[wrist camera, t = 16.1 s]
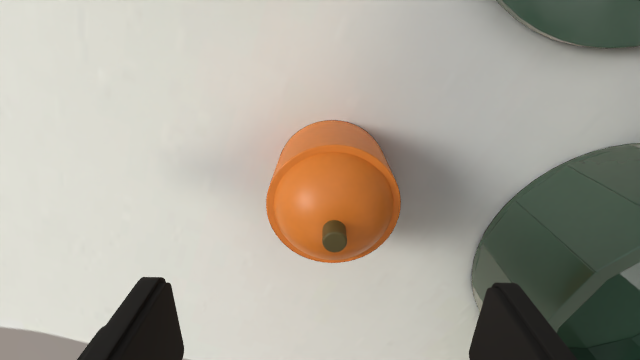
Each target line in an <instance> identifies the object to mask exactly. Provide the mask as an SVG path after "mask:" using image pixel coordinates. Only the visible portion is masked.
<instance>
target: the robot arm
mask: <svg viewBox="0 0 640 360" xmlns="http://www.w3.org/2000/svg"><path fill="white" fill-rule="evenodd" d="M183 354H184V345H183V340H182V335H181V330H180V326H179V321H178V316H177V311H176V307H175V302H174V297H173V292H172V287H171V284H170V283H166V281H165V279H164V278H161V277H143V278H141V279H140V280H139V281H138V282H137V283H136V285H135V286H134V288H133V289H132V290H131V292H130V293H129V294H128V296H127V297H126V298H125V300H124V301H123V303H122V304H121V305H120V307H119V308H118V309H117V311H116V312H115V313H114V315H113V316H112V318H111V319H110V320H109V322H108V323H107V324H106V325H105V326H104V327H102V328H101V329H100V330H99V331H98V332H97V333H96V335H95V336H94V338H93V339H92V340H91V342H90V343H89V344H88V346H87V347H86V348H85V350H84V351H83V353H82V354H81V355H80V357H79V358H78V359H77V360H182V358H183ZM469 358H470V360H577V358H576V357H575V356H574V355H573V353H572V352H571V351H570V349H569V348H568V347H567V346H566V344H565V343H564V342H563V341H562V339H561V338H560V337H559V335H558V334H557V333H556V332H555V330H554V329H553V328H552V327H551V325H550V324H549V323H548V321H547V320H546V319H545V318H544V316H543V315H542V314H541V313H540V311H539V310H538V309H537V307H536V306H535V305H534V304H533V302H532V301H531V300H530V299H529V297H528V296H527V295H526V293H525V292H524V291H523V290H522V288H521V287H520V286H519V285H518V284H516V283H499V282H497V283H494V284H493V285H492V287H490V288H488V289H487V290H486V293H485V297H484V300H483V304H482V308H481V311H480V315H479V318H478V322H477V325H476V329H475V332H474V336H473V339H472V343H471V346H470V350H469Z"/></svg>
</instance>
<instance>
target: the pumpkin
mask: <svg viewBox="0 0 640 360" xmlns="http://www.w3.org/2000/svg"><path fill="white" fill-rule="evenodd" d="M400 205H401V200H400V192H399V188H398V185H397V183H396V180H395V178H394V176H393V174H392V172H391V170H390V167H389V165H388V163H387V161H386V159H385V157H384V155H383V153H382V150H381V148H380V147H379V145H378V143H377V142H376V141H375V140H374V138H373V137H372V136H371V135H370V134H369V133H367V132H366V131H365V130H363V129H362V128H360V127H358V126H356V125H354V124H351V123H348V122H343V121H336V120H329V121H321V122H317V123H313V124H311V125H308V126H306V127H304V128H303V129H301V130H300V131H298V132H297V133H296V134H295V135H293V136H292V137H291V139H290V140H289V141H288V142H287V144H286V145H285V146H284V148H283V150H282V152H281V155H280V158H279V161H278V164H277V166H276V169H275V172H274V175H273V177H272V180H271V183H270V186H269V189H268V193H267V199H266V208H267V215H268V219H269V222H270V224H271V226H272V229H273V230H274V232H275V234H276V235H277V236H278V238H279V239H280V240H281V241H282V242H283V243H284V244H285V245H286V246H287V247H288V248H290V249H291V250H292V251H294V252H295V253H297V254H299V255H301V256H303V257H306V258H308V259H311V260H315V261H320V262H328V263H339V262H346V261H351V260H355V259H358V258H360V257H363V256H365V255H367V254H369V253H371V252H372V251H374V250H375V249H377V248H378V247H379V246H380V245H381V244H383V243H384V241H385V240H386V239H387V238H388V237H389V235H390V234H391V233H392V231H393V229H394V227H395V226H396V223H397V220H398V218H399V213H400Z"/></svg>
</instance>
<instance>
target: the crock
mask: <svg viewBox="0 0 640 360" xmlns="http://www.w3.org/2000/svg"><path fill="white" fill-rule="evenodd" d="M497 282H499V283H516V284H518V285H519V286H520V287H521V288H522V290H523V291H524V292H525V293H526V295H527V296H528V297H529V299H530V300H531V301H532V302H533V304H534V305H535V306H536V307H537V309H538V310H539V311H540V313H541V314H542V315H543V316H544V318H545V319H546V320H547V321H548V323H549V324H550V325H551V327H552V328H553V329H554V330H555V332H556V333H557V334H558V335H559V337H560V338H561V339H562V341H563V342H564V343H565V344H566V346H567V347H568V348H569V349H570V351H571V352H572V353H573V355H574V356H575V357H576V358H577V360H640V143H633V144H626V145H619V146H613V147H608V148H605V149H601V150H597V151H593V152H590V153H587V154H585V155H582V156H580V157H577V158H574V159H572V160H569V161H567V162H565V163H563V164H561V165H559V166H557V167H555V168H553V169H552V170H550V171H548V172H547V173H545V174H544V175H542V176H540V177H539V178H537V179H535V180H534V181H533V182H532V183H530V184H529V185H528V186H526V187H525V188H524V189H522V190H521V191H520V192H519V193H518V194H517V195H516V196H514V197H513V198H512V199H511V200H510V201H509V202H508V203H507V204H506V205H505V206H504V207H503V209H502V210H501V211H500V212H499V213H498V214H497V216H496V217H495V218H494V219H493V221H492V222H491V224H490V225H489V227H488V228H487V230H486V231H485V233H484V235H483V237H482V239H481V241H480V243H479V245H478V248H477V251H476V254H475V257H474V262H473V268H472V289H473V295H474V298H475V301H476V304H477V307H478V309H479V312H480V311H481V308H482V304H483V300H484V297H485V293H486V290H487V289H488V288H490V287H492V285H493V284H494V283H497Z"/></svg>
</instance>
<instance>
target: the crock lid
mask: <svg viewBox="0 0 640 360" xmlns="http://www.w3.org/2000/svg"><path fill="white" fill-rule="evenodd" d="M496 1H497V2H498V3H499V4H500V5H501V6H502V7H503V8H504V9H505V10H506V11H507V12H508V13H509V14H511V15H512V16H513V17H514V18H515V19H516V20H518V21H519V22H521V23H522V24H524V25H525V26H527V27H528V28H530V29H532V30H533V31H535V32H537V33H539V34H542V35H544V36H546V37H549V38H551V39H553V40H556V41H560V42H564V43H568V44H572V45H576V46H585V47H596V48H624V47H636V46H640V0H496Z"/></svg>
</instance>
